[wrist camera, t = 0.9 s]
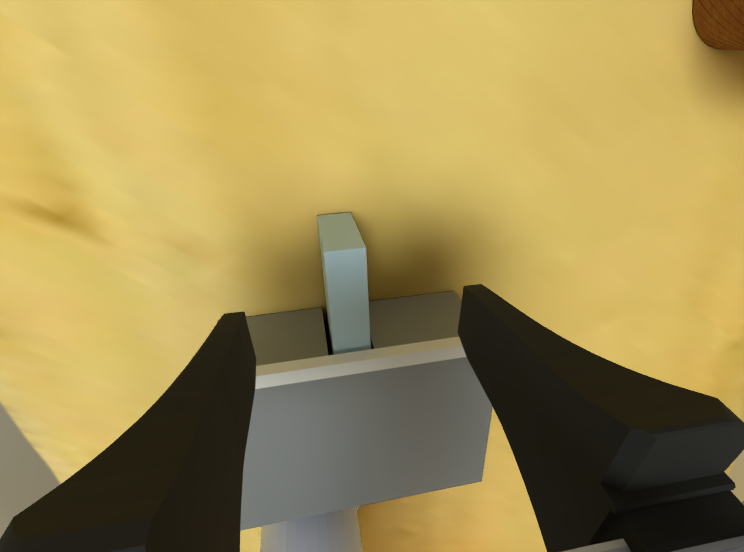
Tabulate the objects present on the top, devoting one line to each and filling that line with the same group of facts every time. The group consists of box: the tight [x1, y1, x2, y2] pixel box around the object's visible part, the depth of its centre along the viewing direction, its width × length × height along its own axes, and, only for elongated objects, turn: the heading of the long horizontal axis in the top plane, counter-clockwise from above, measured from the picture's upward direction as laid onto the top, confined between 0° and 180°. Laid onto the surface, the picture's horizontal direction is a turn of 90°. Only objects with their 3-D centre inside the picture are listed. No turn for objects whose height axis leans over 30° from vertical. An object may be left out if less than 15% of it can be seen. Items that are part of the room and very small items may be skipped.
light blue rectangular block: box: [317, 212, 371, 355], centre depth 24 cm, size 14×2×6 cm, turn 2°
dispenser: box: [217, 291, 492, 530], centre depth 26 cm, size 12×16×7 cm
